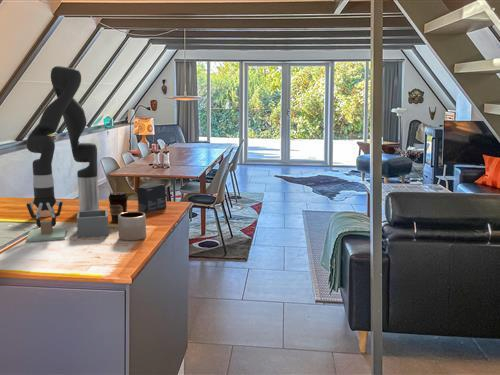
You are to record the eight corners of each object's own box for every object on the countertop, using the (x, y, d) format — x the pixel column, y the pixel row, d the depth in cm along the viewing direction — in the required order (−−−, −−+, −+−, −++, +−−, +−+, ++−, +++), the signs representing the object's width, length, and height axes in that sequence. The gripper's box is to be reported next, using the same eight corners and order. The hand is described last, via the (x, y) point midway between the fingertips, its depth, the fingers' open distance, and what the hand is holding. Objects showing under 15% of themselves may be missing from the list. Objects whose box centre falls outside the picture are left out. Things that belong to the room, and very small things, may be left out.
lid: (30, 233, 211) (29, 218, 210) (66, 230, 215) (65, 215, 214) (26, 243, 198) (25, 227, 197) (64, 240, 202) (63, 224, 201)
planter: (121, 233, 210) (120, 211, 208) (147, 233, 211) (147, 211, 209) (116, 241, 199) (115, 217, 198) (144, 241, 200) (143, 217, 198)
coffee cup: (123, 224, 225) (122, 195, 222) (105, 223, 226) (104, 194, 224) (131, 219, 233) (130, 191, 231) (114, 218, 235) (113, 190, 232)
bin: (78, 229, 215) (77, 211, 214) (108, 227, 219) (107, 209, 217) (77, 237, 204) (76, 218, 203) (108, 235, 208) (107, 216, 206)
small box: (157, 205, 260) (156, 182, 258) (166, 207, 257) (166, 184, 254) (137, 210, 250) (136, 186, 248) (147, 212, 246) (146, 188, 244)
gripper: (63, 182, 208) (65, 223, 211) (25, 184, 204) (28, 225, 207) (62, 186, 201) (64, 227, 204) (22, 188, 197) (26, 230, 200)
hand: (46, 226), depth 206 cm, fingers open, 4 cm apart
